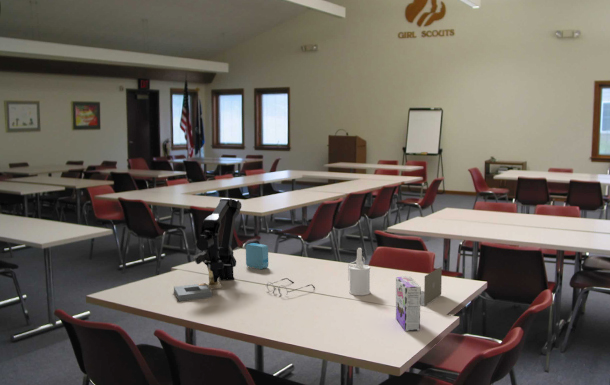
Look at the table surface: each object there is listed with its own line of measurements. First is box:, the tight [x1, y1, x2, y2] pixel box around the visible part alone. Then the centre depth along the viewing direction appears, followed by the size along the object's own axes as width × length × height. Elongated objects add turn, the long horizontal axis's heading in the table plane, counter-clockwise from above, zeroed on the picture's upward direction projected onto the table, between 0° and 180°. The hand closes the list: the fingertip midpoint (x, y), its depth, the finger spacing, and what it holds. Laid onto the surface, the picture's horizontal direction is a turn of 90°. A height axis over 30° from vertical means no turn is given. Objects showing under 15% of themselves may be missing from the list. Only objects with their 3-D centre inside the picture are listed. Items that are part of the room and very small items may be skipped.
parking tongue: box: [205, 281, 222, 290], centre depth 259 cm, size 6×6×2 cm
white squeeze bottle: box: [347, 247, 371, 297], centre depth 248 cm, size 10×9×20 cm
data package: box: [245, 242, 269, 270], centre depth 294 cm, size 12×4×12 cm, turn 52°
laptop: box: [420, 266, 443, 307], centre depth 239 cm, size 18×12×13 cm
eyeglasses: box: [265, 277, 315, 296], centre depth 254 cm, size 16×19×5 cm
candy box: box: [395, 276, 422, 332], centre depth 207 cm, size 14×6×16 cm, turn 5°
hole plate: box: [173, 282, 213, 302], centre depth 248 cm, size 14×14×3 cm
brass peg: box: [207, 267, 219, 285], centre depth 259 cm, size 4×4×8 cm
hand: (213, 279), depth 259 cm, fingers open, 9 cm apart
